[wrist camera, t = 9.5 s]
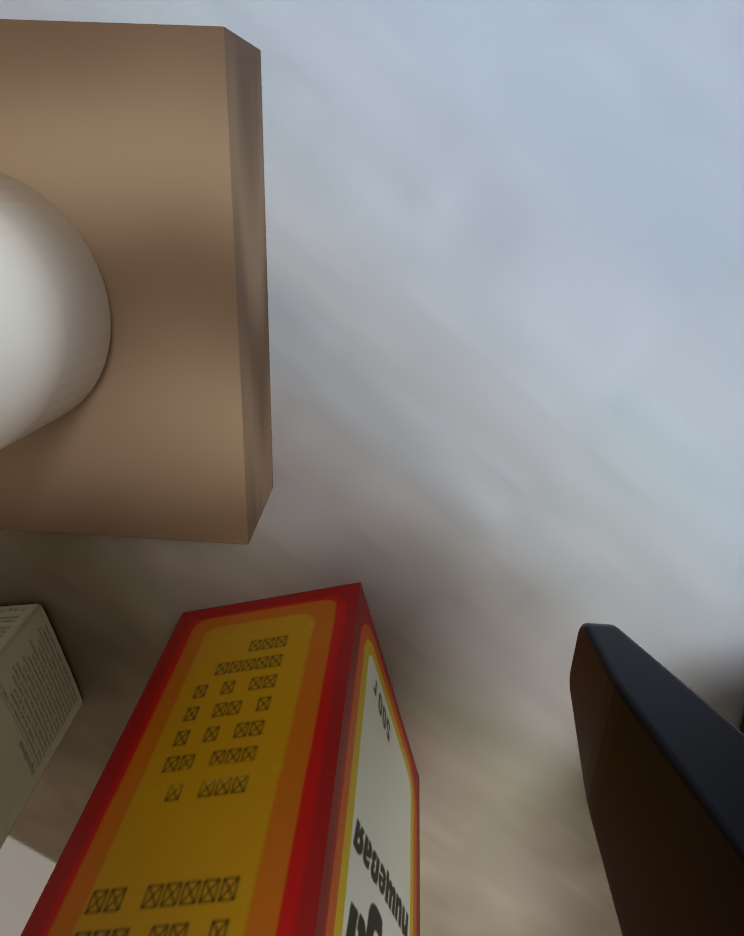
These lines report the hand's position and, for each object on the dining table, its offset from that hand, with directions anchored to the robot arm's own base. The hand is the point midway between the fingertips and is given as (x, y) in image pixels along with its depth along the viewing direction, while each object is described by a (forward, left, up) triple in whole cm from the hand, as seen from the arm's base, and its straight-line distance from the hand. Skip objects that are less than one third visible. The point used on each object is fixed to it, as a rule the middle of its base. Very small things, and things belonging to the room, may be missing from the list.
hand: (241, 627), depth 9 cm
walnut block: (+2, +8, -12) cm, 15 cm away
